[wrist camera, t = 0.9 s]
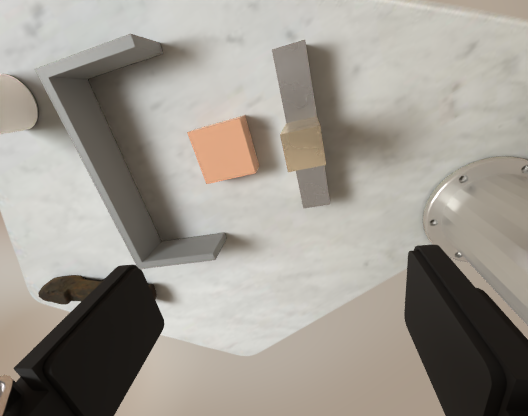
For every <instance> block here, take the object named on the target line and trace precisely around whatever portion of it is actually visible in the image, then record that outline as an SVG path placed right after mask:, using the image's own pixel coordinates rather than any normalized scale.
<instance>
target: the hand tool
mask: <svg viewBox="0 0 528 416" xmlns="http://www.w3.org/2000/svg"><path fill="white" fill-rule="evenodd" d="M101 282H102V281H94V280H85V279H84V278H83V277H82V276H79V275H71V276H62V277H57V278H54V279H52V280H50V281H49V282H48V283H47V284H45V285H44V286H43V287H42V288H41V290H40V291H39V297H40V298H42V299H43V300H45V301H49V302H54V303H58V304H68V303H69V302H71V301H83V300H84V299H85V298H86V297H87V296H88V295H89V294H90V293H91V292H92V291H93V290H94V289H95V288H96V287H97V286H98V285H99V284H100V283H101ZM148 286H149V288H150V290H151V292H152V294H153V297H154V299H156V290H155V287H154V285H153V284H149V285H148Z"/></svg>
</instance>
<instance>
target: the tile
mask: <svg viewBox="0 0 528 416" xmlns="http://www.w3.org/2000/svg"><path fill="white" fill-rule="evenodd" d="M187 133H188V136H189V138H190V141H191V144H192V146H193V149H194V152H195V154H196V157H197V160H198V163H199V165H200V168H201V171H202V173H203V176H204V179H205V181H206V184H209V183H214V182H218V181H223V180H227V179H232V178H236V177H241V176H245V175H250V174H254V173H256V171H257V170H258V168H259V163H258V160H257V156H256V152H255V149H254V145H253V142H252V138H251V135H250V131H249V127H248V124H247V120H246V117H245V115H244V116H240V117H237V118H233V119H230V120H226V121H223V122H219V123H215V124H212V125H208V126H205V127H201V128H198V129H195V130H192V131H190V132H187Z"/></svg>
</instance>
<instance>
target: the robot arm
mask: <svg viewBox="0 0 528 416" xmlns="http://www.w3.org/2000/svg"><path fill="white" fill-rule="evenodd" d="M460 177H461V178H460ZM423 225H424V231H425V233H426V235H427V237H428V239H429V240H430V241H431V243H432V244H433V245H422V246H416V247H415V249H414V251H409V253H408V266H407V282H406V298H405V322H406V326H407V328H408V331H409V333H410V335H411V337H412V340H413V342H414V344H415V346H416V349H417V351H418V353H419V356H420V358H421V360H422V363H423V365H424V367H425V369H426V372H427V374H428V376H429V378H430V381H431V383H432V385H433V388H434V390H435V392H436V395H437V397H438V399H439V401H440V404H441V406H442V408H443V411H444V413H445V415H446V416H528V339H527V338H526V337H525V336H524V335H523V334H522V333H521V332H520V330H519V329H518V328H517V327H516V326H515V325H514V324H513V323H512V321H511V320H510V319H509V318H508V317H507V316H506V315H505V314H504V312H503V311H501V309H500V308H499V307H498V306H497V305H496V303H495V302H494V301H493V300H492V299H491V298H490V297H489V296H488V295H487V294H486V293H485V292H484V291H483V290H481V289H479V288H475V287H474V286H473V285H472V283H471V282H470V281H469V280H468V279H467V278H466V276H465V275H464V274H463V273H462V272H461V271H460V269H459V268H458V267H457V266H456V265H455V264H454V263H453V261H452V260H451V259H450V258H453V259H455V260H459V261H465V262H469V263H470V264H471V265H472V266H473V268H475V270H476V271H477V272H478V273H479V274H480V275H481V276H482V277H483V278H484V279H485V280H486V282H487V283H488V284H489V285H490V286H491V287H492V288H493V289H494V290H495V291H496V292H497V293H498V294H499V295H500V297H501V298H502V299H503V300H504V301H505V302H506V303H507V304H508V305H509V306H510V307H511V308H512V310H513V311H514V312H515V313H516V314H517V315H518V316H519V317H520V318H521V319H522V320H523V321H524V322H525V323H526V324H527V326H528V160H525V159H522V158H516V157H493V158H487V159H482V160H479V161H476V162H473V163H470V164H468V165H466V166H464V167H462V168H460V169H458V170H457V171H455V172H454V173H452V174H451V175H449V176H448V177H447V178H446V179H444V180H443V181H442V182H441V183H440V184H439V185H438V186H437V188H436V189H435V190H434V191H433V193H432V194H431V196H430V198H429V200H428V201H427V203H426V206H425V210H424V213H423ZM449 257H450V258H449ZM163 328H164V319H163V317H162V315H161V312H160V310H159V308H158V306H157V303H156V301H155V299H154V297H153V294H152V292H151V290H150V288H149V286H148V283H147V281H146V279H145V277H144V274H143V272H142V270H141V269H139V268H138V267H137V266H136V265H123V266H118V267H117V268H115V269H114V270H113V271H112V272H111V273H110V274H109V275H108V276H107V277H106V278H105V279H104V280H103V281H102V282H101V283H100V284H99V285H98V286H97V287H96V288H95V289H94V290H93V291H92V292H91V293H90V294H89V295H88V296H87V297H86V298H85V299H84V300H83V301H82V302H81V303H80V304H79V305H78V306H77V307H76V308H75V309H74V310H73V311H72V312H71V313H70V314H69V315H67V316H66V317H65V318H64V319H63V320H62V322H60V323H59V324H58V325H57V326H56V327H55V328H54V329H53V330H52V331H51V332H50V333H49V334H48V335H47V336H46V337H45V338H44V339H43V340H42V341H41V342H40V343H39V344H38V345H37V346H36V347H35V348H34V349H33V350H32V351H31V352H30V353H29V354H28V355H27V356H26V357H25V358H24V359H23V360H22V361H21V362H19V364H17V365H16V366H15V367H14V370H15V371H16V372H17V373H18V374H19V375H20V378H19V379H18V381H17V382H15V381H14V380H13V379H12V378H11V377H10V376H7V375H3V376H0V416H114V414H115V413H116V411H117V409H118V407H119V406H120V404H121V402H122V400H123V399H124V397H125V395H126V393H127V392H128V390H129V388H130V386H131V385H132V383H133V381H134V379H135V378H136V376H137V374H138V372H139V371H140V369H141V367H142V365H143V364H144V362H145V360H146V358H147V357H148V355H149V353H150V351H151V350H152V348H153V346H154V344H155V343H156V341H157V339H158V337H159V336H160V334H161V332H162V330H163Z"/></svg>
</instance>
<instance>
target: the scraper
mask: <svg viewBox="0 0 528 416" xmlns="http://www.w3.org/2000/svg"><path fill="white" fill-rule="evenodd" d="M272 52H273V57H274V63H275V68H276V73H277V78H278V83H279V88H280V93H281V98H282V103H283V108H284V113H285V118H286V125H285V127H284V129H283V130H282V132H281V134H280V136H281V141H282V146H283V151H284V155H285V160H286V165H287V169H288V172H292V171H296V173H297V178H298V183H299V188H300V193H301V198H302V204H303V208H309V207H316V206H322V205H329V204H330V198H329V192H328V185H327V179H326V172H325V166H324V165H326V160H325V153H324V147H323V140H322V133H321V127H320V123H319V121H318V118H317V114H316V107H315V101H314V94H313V88H312V81H311V75H310V68H309V62H308V55H307V49H306V42H305V40H302V41H299V42H296V43H292V44H289V45H286V46H283V47H279V48H276V49H273V50H272Z"/></svg>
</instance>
